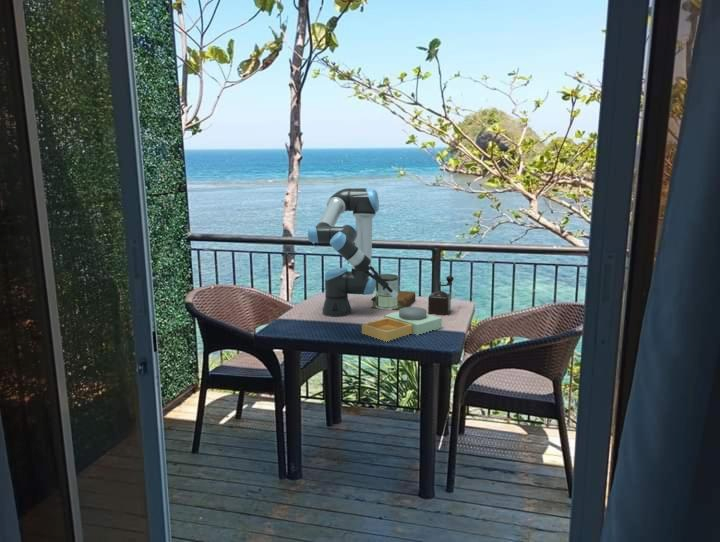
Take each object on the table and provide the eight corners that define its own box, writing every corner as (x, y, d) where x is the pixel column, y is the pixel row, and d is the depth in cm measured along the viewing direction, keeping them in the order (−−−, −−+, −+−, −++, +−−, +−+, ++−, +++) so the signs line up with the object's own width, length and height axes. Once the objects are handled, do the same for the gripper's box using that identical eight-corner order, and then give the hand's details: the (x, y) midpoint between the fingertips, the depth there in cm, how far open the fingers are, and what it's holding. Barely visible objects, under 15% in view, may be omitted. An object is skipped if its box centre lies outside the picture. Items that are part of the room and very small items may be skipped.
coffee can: (370, 306, 262) (370, 275, 259) (388, 302, 268) (388, 273, 266) (385, 310, 254) (385, 279, 251) (402, 307, 260) (403, 276, 258)
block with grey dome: (384, 325, 278) (384, 309, 276) (408, 318, 289) (408, 303, 287) (417, 335, 262) (417, 318, 260) (441, 328, 272) (442, 311, 271)
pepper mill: (449, 316, 293) (449, 281, 289) (427, 314, 296) (428, 280, 293) (453, 308, 307) (454, 275, 304) (433, 306, 311) (433, 274, 307)
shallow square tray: (361, 333, 265) (361, 324, 264) (387, 326, 275) (387, 317, 275) (386, 342, 253) (386, 332, 252) (412, 334, 263) (412, 324, 262)
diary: (404, 312, 303) (404, 301, 302) (371, 309, 309) (371, 299, 308) (415, 301, 324) (415, 291, 323) (383, 299, 330) (383, 289, 329)
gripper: (348, 262, 265) (381, 293, 271) (358, 271, 244) (393, 305, 250) (359, 250, 265) (392, 282, 271) (370, 258, 244) (405, 292, 250)
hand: (393, 293), depth 261 cm, fingers closed on coffee can, 10 cm apart
